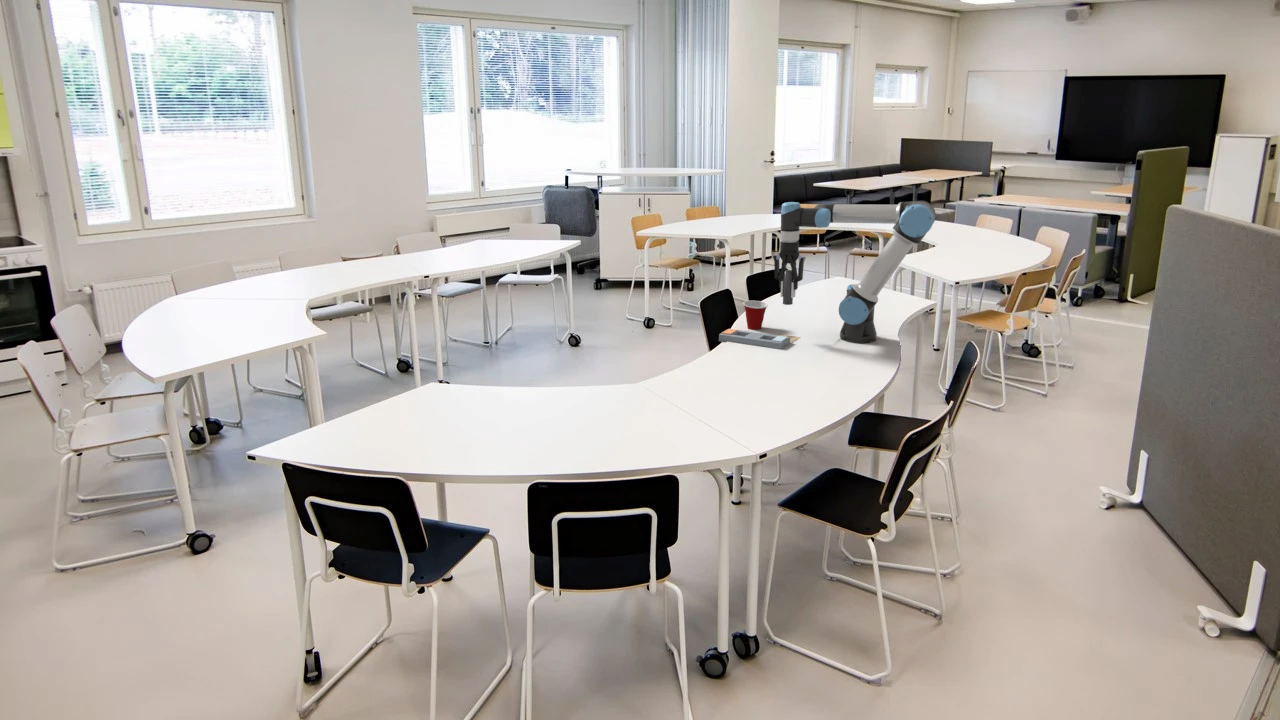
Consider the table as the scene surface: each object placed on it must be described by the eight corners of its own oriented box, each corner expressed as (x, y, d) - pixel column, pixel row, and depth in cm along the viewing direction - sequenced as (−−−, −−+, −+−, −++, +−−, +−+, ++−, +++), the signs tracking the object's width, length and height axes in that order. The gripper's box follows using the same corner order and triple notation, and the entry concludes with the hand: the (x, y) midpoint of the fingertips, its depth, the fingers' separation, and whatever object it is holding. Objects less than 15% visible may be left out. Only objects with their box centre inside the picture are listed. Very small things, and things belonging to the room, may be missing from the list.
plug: (794, 303, 345) (795, 270, 341) (790, 305, 342) (791, 272, 338) (785, 302, 347) (785, 269, 343) (781, 304, 344) (782, 271, 340)
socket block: (790, 344, 344) (790, 336, 343) (780, 350, 336) (781, 342, 334) (729, 335, 357) (729, 327, 356) (718, 341, 349) (719, 333, 348)
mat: (800, 338, 351) (800, 337, 351) (792, 344, 343) (792, 343, 343) (778, 335, 356) (778, 334, 356) (769, 341, 348) (769, 339, 348)
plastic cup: (758, 334, 359) (759, 307, 355) (737, 330, 365) (738, 303, 362) (771, 328, 367) (772, 302, 363) (751, 324, 373) (751, 298, 369)
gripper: (812, 240, 335) (810, 296, 342) (773, 238, 344) (772, 292, 351) (806, 243, 329) (804, 300, 336) (766, 240, 338) (765, 296, 345)
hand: (787, 296), depth 344 cm, fingers closed on plug, 4 cm apart
